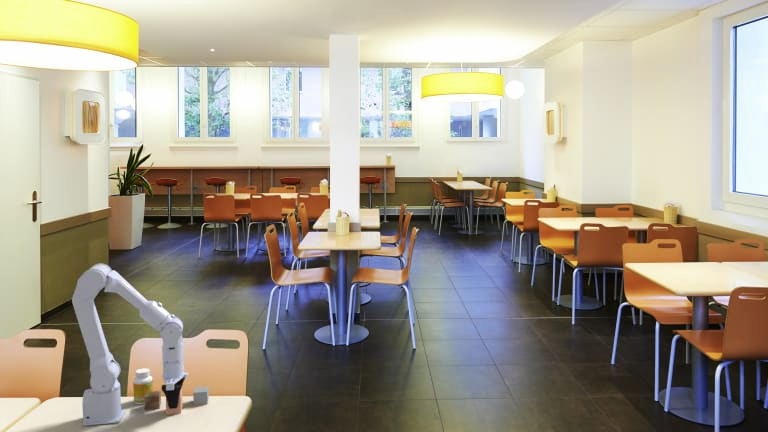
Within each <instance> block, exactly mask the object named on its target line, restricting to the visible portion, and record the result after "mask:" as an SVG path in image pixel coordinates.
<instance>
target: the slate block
mask: <svg viewBox="0 0 768 432" xmlns="http://www.w3.org/2000/svg"><path fill="white" fill-rule="evenodd" d="M192 395H193V406H202V405H208V403H209V386H198V387H194V389H193V394H192Z"/></svg>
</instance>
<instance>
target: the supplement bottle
mask: <svg viewBox="0 0 768 432" xmlns="http://www.w3.org/2000/svg"><path fill="white" fill-rule="evenodd" d="M150 373H151V370H150V369H149V368H148V367H147V368H138V369H136V370H135V373H134V374H135V377H134V379H133V381H132V383H133V384H132V385H133V403H134V404H136V405H145V398H144V397H145V395H146V392H154V390H153V389H154V387H153V386H154V385H153V376H151V374H150Z"/></svg>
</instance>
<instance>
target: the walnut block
mask: <svg viewBox="0 0 768 432" xmlns="http://www.w3.org/2000/svg"><path fill="white" fill-rule="evenodd" d="M161 391H162V390H157V391H154V390H153V392H146V395H145V397H144V398H145V404H144V411H150V410H151V411H152V410H160V408H161V404H162V395H161Z"/></svg>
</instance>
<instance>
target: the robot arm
mask: <svg viewBox="0 0 768 432" xmlns="http://www.w3.org/2000/svg"><path fill="white" fill-rule="evenodd" d="M103 289H104V293H116V294H118V295H119V296H120V297H122V298H123V299H124V300H126V301H127V302H128V303H130V304H131V305H132V306H134V307H135V308H136V309H138V311H139V317H140V318H142V320H144V321H145V322H146V323H148V325H150V326H151V327H152V328H153V329H154V330H155V331H158V332H159V336H160V337H161V339H162V345H161V350H162V351H161V354H162V380H163V382H164V383H165V384H162V385H161V391H162V393H164V395H165V400H166V399H167V402H168V406H169V409H173V408H177V406H178V400H179V393H180V390H181V388H182V389H183V386H184V385H183V384H184V381H185V379H186V377H188V376H189V372H187V371H185V365H184V363H185V362H184V343H183V339H184V338H183V329H184V323H183V321H182V320H181V319H180V317H178V316H176V315H175V314H173V313H172V314H171V313H170V312H169V311H168V310H166V309H165V308H164V307H163V304H162V303H161V301H158V302H157V301H155V300H147V299H146V298H145V297H144V296H143V295H142V294H141V293H140V292H139V291H138V290H136V289H135V287H134V286H132V285H131V284H130V283H129V282H128V281H127V280H126V279H125V278H124V277H123V276H122V275H120V273H119V272H117V271H116V270H114V269H113V270H112V268H111V266H109V265H108V264H106V263H96V264H94V265H92V266H91V267H90V268H89V269H87V270H86V271H84V272H83V274H82V275H81V276H80V277H78V279H77V283H76V286H75V289H74V292H73V295H72V298H71V302H72V305H73V309H74V313H75V315H76V319H77V322H78V325H79V328H80V332H81V334H82V339H83V342H84V344H85V345H84V346H85V348H86V351H87V354H88V357H89V372H90V379H89V383H90V385H89V386H90V388H89V389H85V390H84V392H83V394H82V395H83V396H82V405H81V406H82V421H83V422H82V427H83V426H84V427H86V426H96V425H108V424H118V423H120V421H121V420H122V419H123V416H124V415H125V413H126V409H122V398H121V393H122V392H121V383H120V382H119V380H118V378H119V376H120V374H121V366H120V364H119V363H118V362H117V361H116V360H115V359H114V356H113V354H112V353H111V352H110V350H109V347H108V344H107V340H106V337H105V333H104V330H103V328H102V323H101V321H100V317H99V314H98V311H97V307H96V305H95V301H94V300H95V298H96V297H97V295H98V294H99V292H100V291H101V290H103Z"/></svg>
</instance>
